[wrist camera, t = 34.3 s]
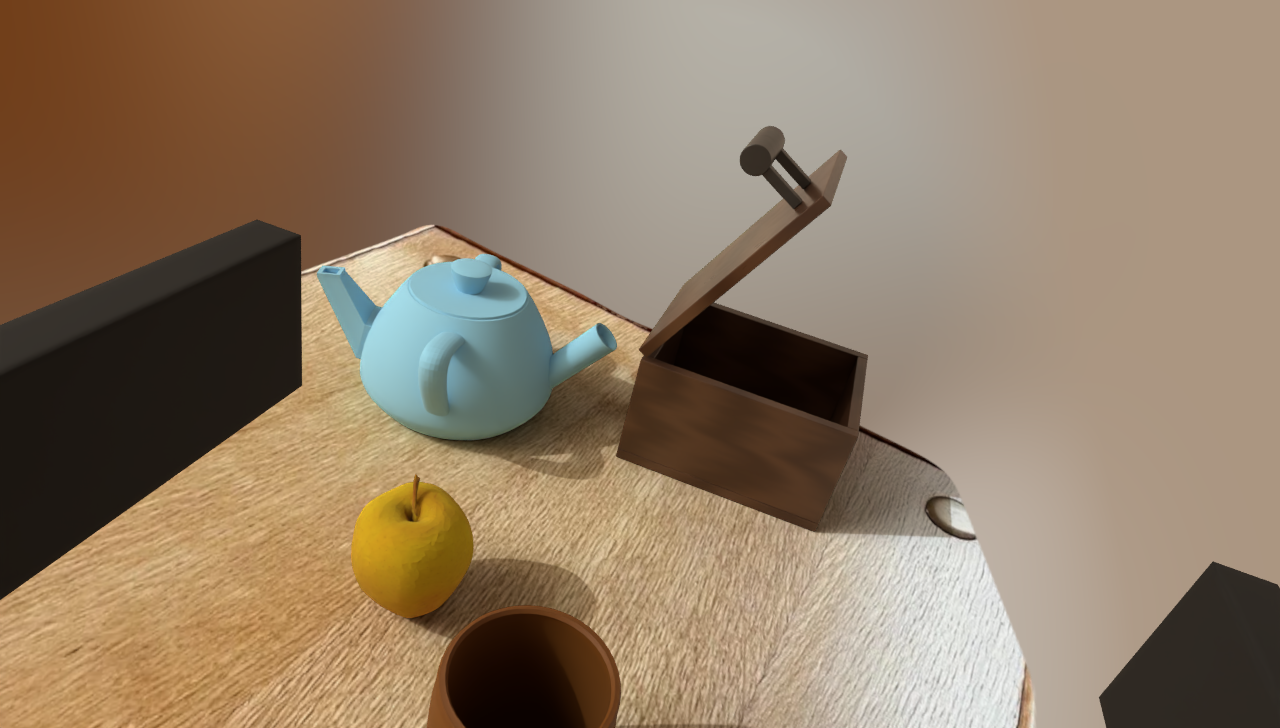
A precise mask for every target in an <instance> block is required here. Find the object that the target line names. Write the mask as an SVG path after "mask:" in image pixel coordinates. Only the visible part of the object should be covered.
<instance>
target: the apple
mask: <svg viewBox="0 0 1280 728" xmlns="http://www.w3.org/2000/svg"><path fill="white" fill-rule="evenodd" d="M419 480H420V478H419V477H417V475H415V477H414V482H410V483H406V484H403V485H401V486H399V487H397V488H394V489H392V490H390V491H388V492H386V493H384V494H382V495H380V496H378V497H376V498H375V499H373V500H372V501H370V502H369V503H368V504H367V505H366V506H365V507H364V509H363V510H362V512H361V513H360V515H359V517H358V519H357V522H356V525H355V529H354V534H353V541H352V548H351V550H352V553H351V559H352V567H353V571H354V574H355V576H356V580H357V582H358V584H359V586H360V588H361V589H362V590H363V591H364V592H365V593H366V594H367V595H368V596H369V597H370V598H371V599H372V600H374V601H375V602H376V603H377V604H379V605H380V606H382V607H383V608H385V609H387V610H389V611H391V612H393V613H395V614H397V615H400V616H403V617H405V618H413V617H418V616H422V615H425V614H427V613H430V612H432V611H434V610H436V609H438V608H439V607H440V606H441V605H442V604H443V603H444V602H445V601H446V600H447V599H448V598H449V597H450V596H451V594H452V593H453V592H454V591H455V589H456V588H457V586H458V585H459V583H460V582H461V580H462V578H463V577H464V575H465V574H466V573H467V570H468V568H469V566H470V563H471V560H472V556H473V534H472V531H471V527H470V524H469V521H468V519H467V517H466V516H465V514H464V512H463V511H462V509H461V508H460V506H459V505H458V504H457V503H456V502H455V501H454V499H453V498H452V497H451V496H450V495H449V494H448V493H447V492H445V491H444V490H443V489H441V488H440V487H438V486H436V485H433V484H428V483H424V482H419Z"/></svg>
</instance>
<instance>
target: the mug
mask: <svg viewBox="0 0 1280 728" xmlns="http://www.w3.org/2000/svg"><path fill="white" fill-rule="evenodd" d="M620 698H621V683H620V677H619V672H618V669H617V666H616V663H615V660H614V658H613V656H612V654H611V652H610V650H609V649H608V648H607V646H606V645H605V643H604V642H603V641H602V639H601V638H600V637H599V636H598V635H597V634H596V633H595V632H594V631H593V630H592V629H591V628H590V627H588V626H587V625H585V624H584V623H583V622H581V621H580V620H578V619H576V618H574V617H573V616H571V615H568V614H566V613H564V612H561V611H558V610H555V609H552V608H546V607H541V606H531V605H522V606H511V607H506V608H501V609H497V610H495V611H492V612H489V613H487V614H485V615H483V616H481V617H479V618H477V619H475V620H474V621H472V622H471V623H469V624H468V625H467V626H466V627H465V628H463V629H462V630H461V631H460V632H459V633H458V634H457V635H456V636H455V638H454V639H453V640H452V641H451V643H450V644H449V646H448V647H447V649H446V651H445V653H444V655H443V657H442V659H441V662H440V665H439V669H438V672H437V677H436V681H435V684H434V688H433V691H432V696H431V702H430V708H429V715H428V723H427V728H615V725H616V719H617V713H618V709H619V705H620Z"/></svg>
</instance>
